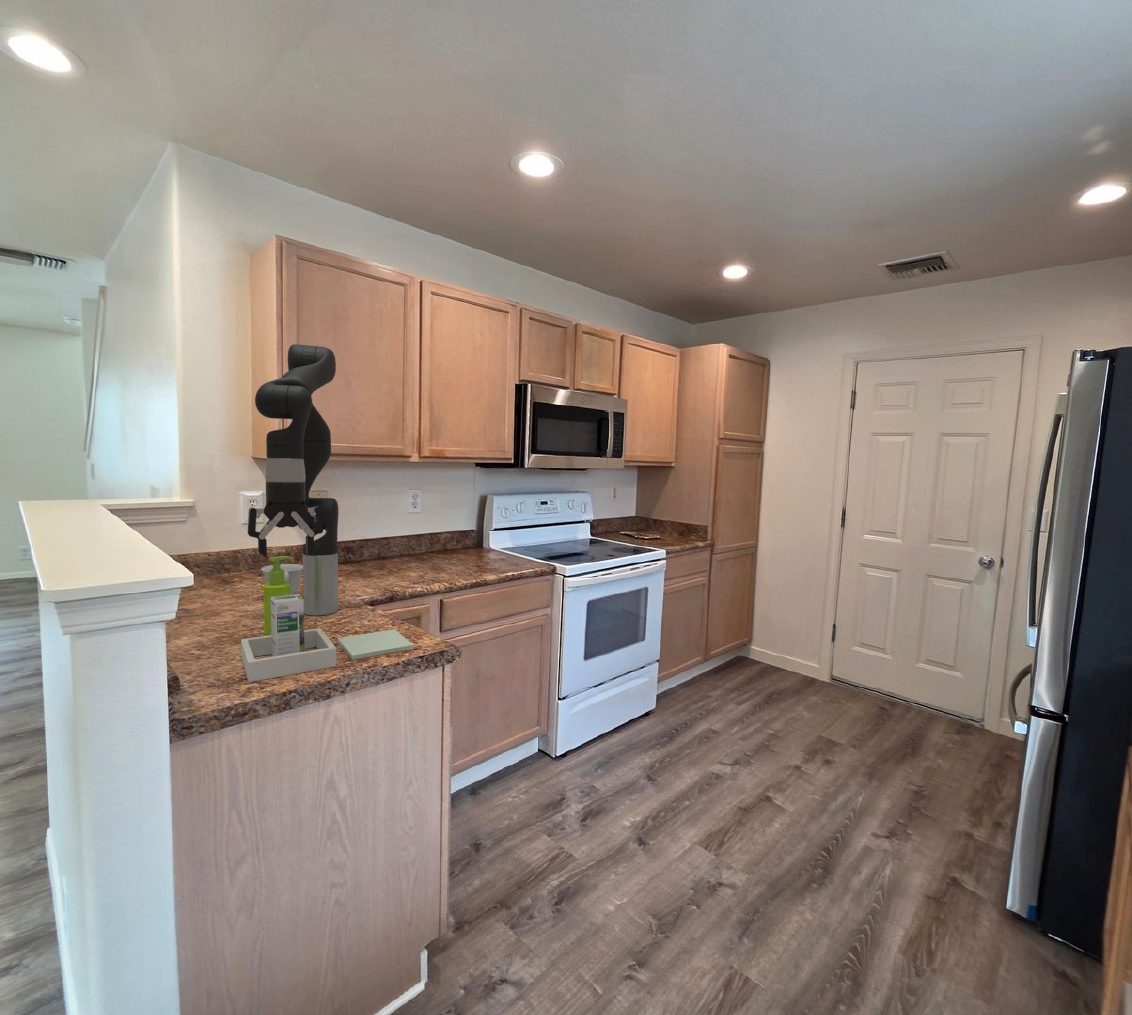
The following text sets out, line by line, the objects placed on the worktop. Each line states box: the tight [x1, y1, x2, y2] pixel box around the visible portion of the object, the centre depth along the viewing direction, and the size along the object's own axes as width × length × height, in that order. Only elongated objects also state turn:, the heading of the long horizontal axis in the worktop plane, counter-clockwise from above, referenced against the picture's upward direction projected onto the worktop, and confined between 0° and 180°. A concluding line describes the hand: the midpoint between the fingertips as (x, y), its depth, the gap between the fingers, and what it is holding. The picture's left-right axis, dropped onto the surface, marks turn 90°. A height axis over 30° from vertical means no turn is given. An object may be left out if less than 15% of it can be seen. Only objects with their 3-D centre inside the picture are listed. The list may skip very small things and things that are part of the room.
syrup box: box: [271, 593, 305, 657], centre depth 118 cm, size 6×6×14 cm
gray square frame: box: [240, 627, 337, 683], centre depth 118 cm, size 16×16×4 cm
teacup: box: [260, 563, 303, 595], centre depth 169 cm, size 12×15×10 cm
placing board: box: [337, 628, 415, 661], centre depth 130 cm, size 14×14×1 cm
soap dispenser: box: [262, 555, 295, 636], centre depth 135 cm, size 6×7×20 cm
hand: (286, 554), depth 117 cm, fingers open, 8 cm apart
